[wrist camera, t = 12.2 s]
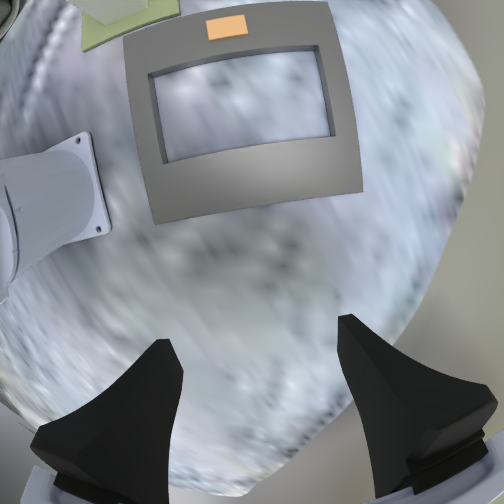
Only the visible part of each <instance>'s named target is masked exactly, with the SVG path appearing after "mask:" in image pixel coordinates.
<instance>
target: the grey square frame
mask: <svg viewBox="0 0 504 504" xmlns="http://www.w3.org/2000/svg"><path fill="white" fill-rule="evenodd" d="M123 47H124V59H125V69H126V78H127V87H128V95H129V102H130V109H131V115H132V122H133V128H134V133H135V139H136V145H137V150H138V155H139V160H140V165H141V170H142V174H143V179H144V183H145V188H146V192H147V196H148V200H149V205H150V209H151V213H152V216H153V220H154V224H155V225H158V224H163V223H168V222H173V221H178V220H183V219H189V218H194V217H199V216H205V215H210V214H216V213H221V212H227V211H233V210H239V209H245V208H251V207H257V206H263V205H270V204H276V203H283V202H290V201H297V200H304V199H312V198H319V197H327V196H335V195H343V194H352V193H360V192H363V179H362V167H361V157H360V149H359V140H358V133H357V126H356V119H355V113H354V107H353V101H352V96H351V90H350V85H349V80H348V75H347V71H346V66H345V62H344V58H343V54H342V50H341V46H340V42H339V38H338V35H337V31H336V28H335V24H334V21H333V18H332V14H331V11H330V8H329V5H328V2H320V1H284V2H267V3H256V4H247V5H239V6H232V7H226V8H220V9H215V10H210V11H205V12H200V13H196V14H192V15H188V16H184V17H180V18H177V19H173V20H170V21H166V22H163V23H160V24H157V25H154V26H151V27H148V28H145V29H142V30H140V31H137V32H134V33H132V34H129V35H127V36H124V37H123ZM313 50H314V51H315V55H316V59H317V64H318V68H319V73H320V78H321V82H322V88H323V93H324V98H325V104H326V109H327V115H328V121H329V128H330V134H331V137H322V138H311V139H301V140H292V141H284V142H276V143H269V144H262V145H255V146H249V147H243V148H237V149H232V150H226V151H221V152H216V153H211V154H206V155H201V156H197V157H192V158H188V159H183V160H179V161H175V162H171V163H168V161H167V156H166V151H165V146H164V140H163V135H162V129H161V124H160V118H159V112H158V106H157V99H156V93H155V86H154V79H153V78H154V77H157V76H160V75H163V74H167V73H170V72H174V71H177V70H181V69H185V68H189V67H193V66H197V65H201V64H205V63H210V62H215V61H220V60H225V59H231V58H237V57H243V56H250V55H258V54H267V53H277V52H290V51H313Z"/></svg>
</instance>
